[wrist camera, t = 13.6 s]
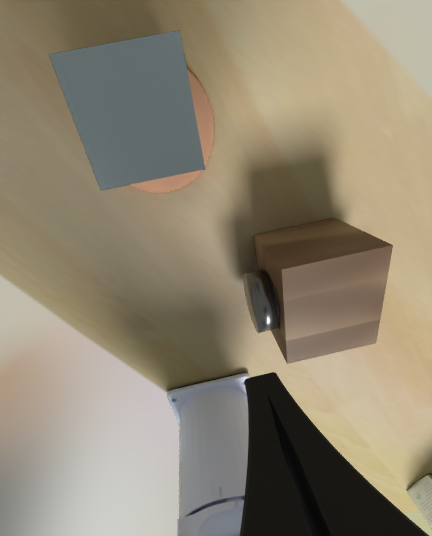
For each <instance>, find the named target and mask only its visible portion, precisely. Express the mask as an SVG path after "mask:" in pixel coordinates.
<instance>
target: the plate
mask: <svg viewBox="0 0 432 536" xmlns="http://www.w3.org/2000/svg"><path fill="white" fill-rule="evenodd" d="M187 72H188V77H189V83H190V88H191V93H192V99H193V104H194V110H195V115H196V121H197V126H198V131H199V137H200V142H201V148H202V153H203V159H204V164H205V165H206V163H207V161H208V159H209V157H210V154H211V151H212V147H213V142H214V118H213V113H212V108H211V105H210V102H209V100H208V97H207V95H206V93H205V91H204V89H203V88H202V86H201V84H200V83H199V81H198V80H197V79H196V78H195V76H194V75H193V74H192V73H191V72H190V71H189V70H188V69H187ZM201 171H202V170H199V171H194V172H189V173H184V174H180V175H175V176H170V177H165V178H160V179H155V180H150V181H145V182H140V183H135V184H131V186H132V187H135V188H137V189H140V190H143V191H147V192H154V193H164V192H171V191H174V190H177V189H180V188H182V187H184V186H186V185H187V184H189V183H190V182H191V181H193V180H194V179H195V178H196V177H197V176H198V175H199V174H200V173H201Z"/></svg>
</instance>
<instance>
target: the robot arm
mask: <svg viewBox="0 0 432 536" xmlns="http://www.w3.org/2000/svg"><path fill="white" fill-rule="evenodd" d="M167 397H168V400H169V402H170V405H171V407H172V409H173V412H174V414H175V416H176V419H177V421H178V424H179V426H180V430H179V432H180V434H179V519H178V536H429V535H427V534H426V533H425V532H424V531H423V530H421V528H419V527H418V526H417V525H416V524H415V523H414V522H412V521H411V520H410V519H409V518H408V517H407V516H405V515H404V514H403V513H402V512H401V511H400V510H399V509H398V508H397V507H396V506H394V505H393V504H392V503H391V502H390V501H389V500H388V499H387V498H386V497H384V496H383V495H382V494H381V493H380V492H379V491H378V490H377V489H376V488H374V487H373V486H372V485H371V484H370V483H369V482H368V481H367V480H366V479H365V478H364V477H363V476H362V475H361V474H360V473H359V472H358V471H357V470H356V469H355V468H354V467H353V466H352V465H351V464H350V463H349V462H348V461H347V460H346V459H345V458H344V457H343V456H342V455H341V454H340V453H339V452H338V451H337V450H336V449H335V448H334V447H333V445H332V444H331V443H330V442H329V441H328V440H327V439H326V438H325V437H324V435H323V434H322V433H321V432H320V431H319V430H318V429H317V428H316V426H315V425H314V424H313V423H312V422H311V420H310V419H309V418H308V417H307V416H306V414H305V413H304V412H303V411H302V409H301V408H300V407H299V406H298V404H297V403H296V402H295V400H294V399H293V398H292V396H291V395H290V394H289V392H288V391H287V389H286V388H285V387H284V385H283V384H282V382H281V381H280V379H279V377H278V376H277V374H276V373H274V372H273V373H268V374H264V375H260V376H255V377H251V378H250V376H249V374H247V373H243V374H239V375H234V376H230V377H226V378H221V379H217V380H213V381H208V382H204V383H200V384H196V385H191V386H187V387H183V388H178V389H174V390H170V391H169V392H168V395H167Z"/></svg>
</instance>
